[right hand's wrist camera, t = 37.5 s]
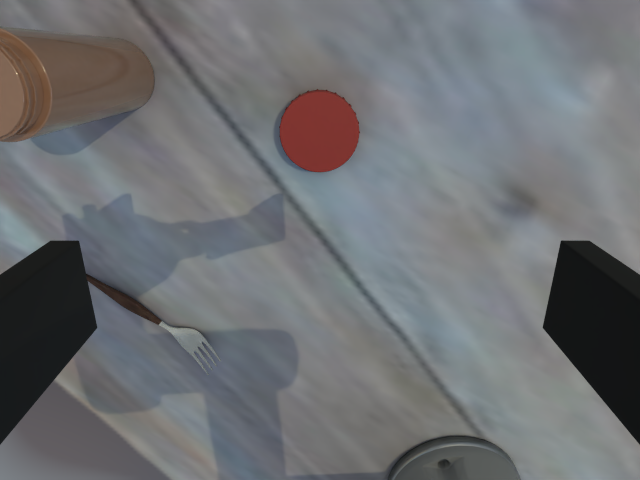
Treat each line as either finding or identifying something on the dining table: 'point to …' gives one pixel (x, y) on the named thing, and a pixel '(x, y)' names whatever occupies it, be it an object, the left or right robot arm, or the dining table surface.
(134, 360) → the dining table surface
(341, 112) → the lid
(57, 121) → the jar
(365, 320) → the dining table surface
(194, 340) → the fork
